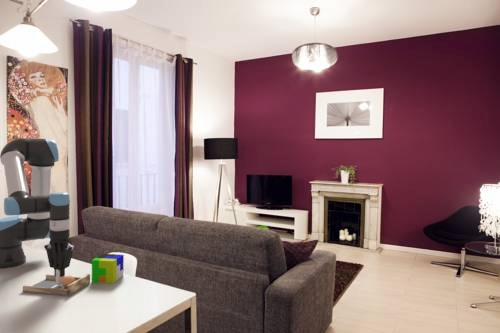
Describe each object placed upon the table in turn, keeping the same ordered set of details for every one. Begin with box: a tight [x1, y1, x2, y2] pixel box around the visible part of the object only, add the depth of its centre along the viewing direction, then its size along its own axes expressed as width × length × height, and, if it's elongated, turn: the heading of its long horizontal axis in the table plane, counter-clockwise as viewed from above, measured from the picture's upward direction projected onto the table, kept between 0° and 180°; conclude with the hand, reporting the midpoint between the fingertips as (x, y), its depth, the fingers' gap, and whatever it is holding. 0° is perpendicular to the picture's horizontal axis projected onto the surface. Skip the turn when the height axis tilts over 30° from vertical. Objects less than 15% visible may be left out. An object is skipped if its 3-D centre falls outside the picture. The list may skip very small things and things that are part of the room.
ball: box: [62, 275, 75, 288], centre depth 149 cm, size 5×5×5 cm
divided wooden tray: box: [22, 273, 91, 296], centre depth 150 cm, size 14×21×4 cm, turn 82°
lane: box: [22, 278, 91, 297], centre depth 150 cm, size 14×21×1 cm, turn 82°
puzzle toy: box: [91, 253, 125, 284], centre depth 162 cm, size 10×10×10 cm
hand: (59, 283), depth 150 cm, fingers closed
